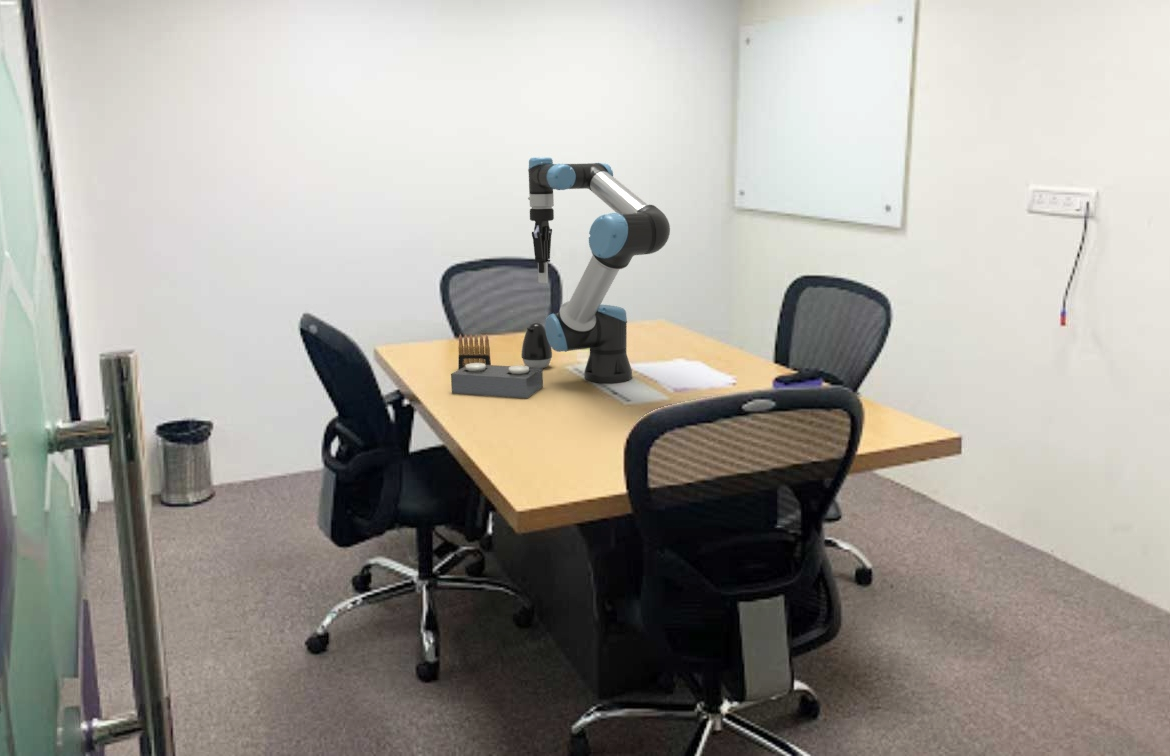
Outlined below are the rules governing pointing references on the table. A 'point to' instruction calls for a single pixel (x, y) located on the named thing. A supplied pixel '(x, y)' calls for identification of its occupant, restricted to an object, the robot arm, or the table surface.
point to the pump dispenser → (536, 347)
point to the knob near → (519, 370)
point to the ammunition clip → (473, 351)
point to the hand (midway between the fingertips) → (543, 282)
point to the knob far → (475, 367)
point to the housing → (497, 382)
